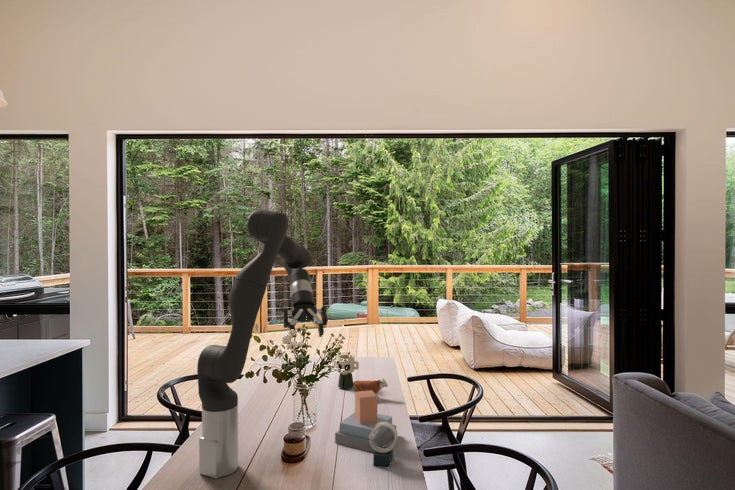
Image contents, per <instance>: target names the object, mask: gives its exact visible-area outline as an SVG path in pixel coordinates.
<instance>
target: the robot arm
mask: <svg viewBox="0 0 735 490" xmlns="http://www.w3.org/2000/svg"><path fill="white" fill-rule="evenodd" d="M246 227H247V232H248V234H249V236H251V238H253V239H254V240H256V241H258V242H260V243H262V244H263V245H264V246H263V247H262V248H261V250H260V251H259V253H258V254H257V255H256V256H255V257H253V258H252V260H250V261H249V262H248V263H247V264H246V265H244V266H243V268H241V269H240V270H239V271H238V272H237V274H236V276H235V278H234V281H233V283H232V286H231V289H230V291H229V295H228V307H229V311H230V312H229V313H230V319H231V331H230V334H229V338H228V342H227V343H226V346H224V345H220V344H211V345H207V346H206V347H204V348H203V350H201V352H200V354H199V356H198V360H197V366H196V367H197V368H196V369H197V370H196V371H197V386H198V387H197V388H198V397H199V400H200V401H201V437H199V439H198V444H199V445H198V453H199V456H198V457H199V460H198V462H199V470H198V472H199V474H200V475H202V476H206V477H209V478H211V479H215V480H216V479H218V478H221V477H225V476H228V475H231V474H233V473H234V472H236V471H237V470H238V468H239V396H238V394H237V392H236V391H235V390H234V389H233V388H231V387H230V385H228V384H232V383H234V382H236V381H237V380H238V379H239V378H240V376H241V375H242V372H243V371H244V368H245V364H246V361H247V358H248V357H247V356H248V352H249V347H250V343H251V339H252V335H253V331H254V327H255V324H256V322H257V321H256V320H257V318H258V317H257V316H258V315H259V310H260V308H261V305H262V302H263V299H264V296H265V293H266V290H267V286H268V284H269V280H270V278H271V277H270V276H271V274H272V271H273V268H274V265H275V262H276V260H277V257H278V256H279V258H280V259H281V264H282V266H283V268H284V271H286V274H287V276H288V280H289V288H290V289H289V290H290V291H289V293H290V296H289V297H290V301H291V309H290V310H288V308H284V309H283V313H282V317H283V318H282V319H283V328H284V329H289V331H290V330H291V329H294V330H295V331H296V327H295V326H297V324H299V323H300V324H301V323H310V322H311V323H312V324H314V325H315V326H317V330H318V337H319V338H322V337H323V335H324V333H325V329H324V327H326V326H327V325H328V321H329V319H328V315H327V312H326V311H327V310H326V308H325V307H324V306H321V308H317V307H316V305H315V300H314V294H313V288H312V285H311V281H310V280H311V279H310V275H309V272H308V270H306V269H305V268H308V267H309V266H310V265H311V263H312V255H311V253H310V251H309V250H308V249H307V248H305V247H303V246H302V245H299V244H297V243H296V242H295V241H294V240H293V239H292V238H291V237H289V236H288V235H287V232H288V228H289V217H288V216H287V214H285V213H284V212H281V211H273V210H268V209H267V210H266V209H265V210H264V209H257V210H254V211H252V212H251V213H250V215H249V216H248V220H247V226H246ZM301 310H302V311H301ZM317 314H318V315H317ZM290 316H292V317H293V318H292V320H291V322H290V321H289V317H290ZM306 316H307V318H306ZM319 316H320V317H321V318H320V317H319ZM306 319H307V320H306ZM296 337H297V335H296V336H295V338H296Z"/></svg>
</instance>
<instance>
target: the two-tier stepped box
mask: <svg viewBox="0 0 735 490" xmlns="http://www.w3.org/2000/svg"><path fill="white" fill-rule="evenodd" d="M381 421H384V422H389V423H391V424H392V425H393V426H394V427H395V428H396V429H397V425H396V424H393V416H392V415H391V416H390V415H387V414H381V413H377V422H373V423H365V424H360V423H359V422H358V421H357V419H356V418H355V412H353V413H352V414H351V415H349V416H348V417H346V418H345V419H343V420H342V421H340V422H339V430H338V431H336V432H335V433H334V436H335V437H334V443H335V444H336V445H337V444H338V445H341V446H345V447H346V446H347V447H350V448H355V449H359V450H363V451H367V452H369V453H370V452H371V453H373V454H374V453H375V451H376V450H374V449H373V448H372V446H371V444H370V442H369V440H370V438H369V435H370V434H371V432H372V430H373V429H374V427H375V425H376V424H377V423H380V422H381ZM394 436H395V434H394V432H393V431H392V429H390V428H389V427H386V426H381V428H380V430H379V431H378V433H377V435H376V436H375V438H374V439H373V441H374V443H375V444H376V445H377V446H384V445H385V444H386V445H387V444H388V443H389V442H391V440H392V439H394ZM386 445H385V446H386ZM385 446H384V447H385Z"/></svg>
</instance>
